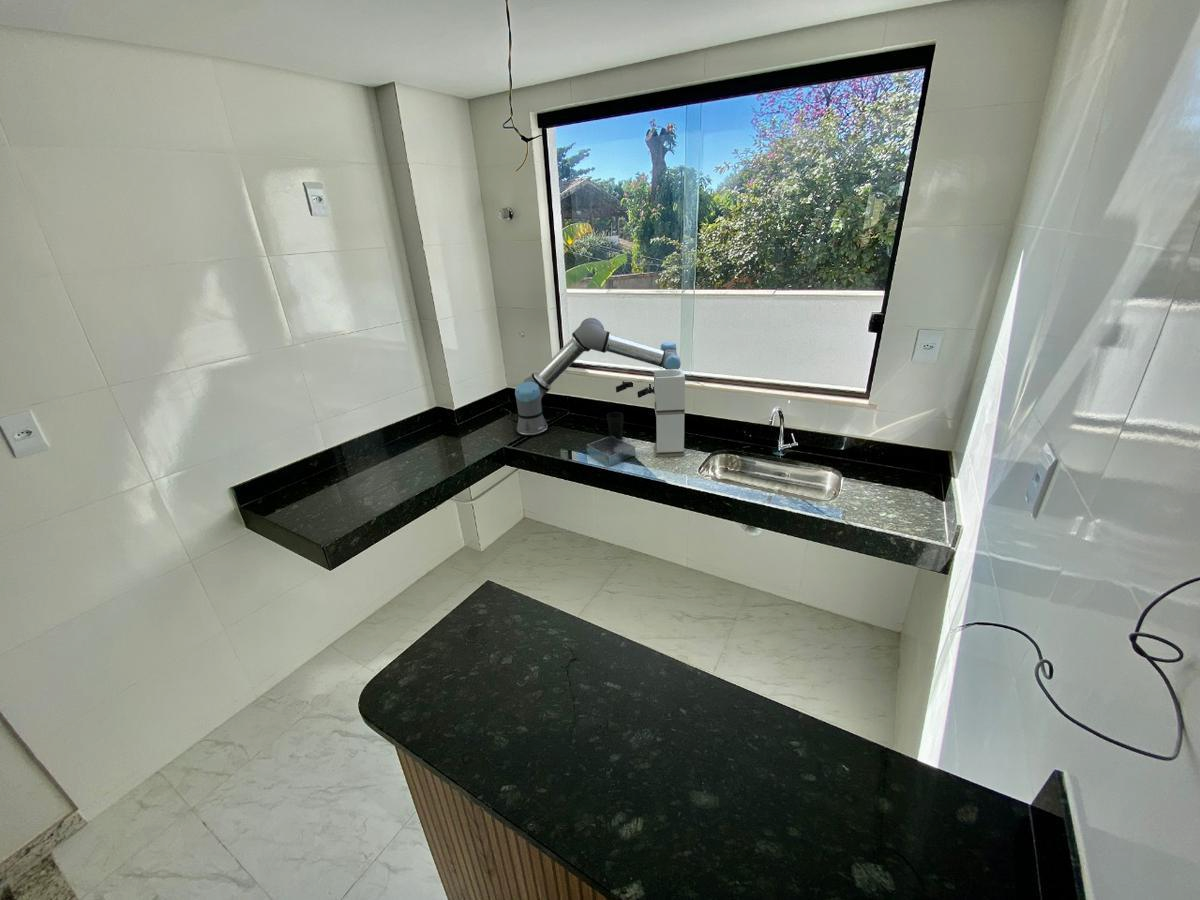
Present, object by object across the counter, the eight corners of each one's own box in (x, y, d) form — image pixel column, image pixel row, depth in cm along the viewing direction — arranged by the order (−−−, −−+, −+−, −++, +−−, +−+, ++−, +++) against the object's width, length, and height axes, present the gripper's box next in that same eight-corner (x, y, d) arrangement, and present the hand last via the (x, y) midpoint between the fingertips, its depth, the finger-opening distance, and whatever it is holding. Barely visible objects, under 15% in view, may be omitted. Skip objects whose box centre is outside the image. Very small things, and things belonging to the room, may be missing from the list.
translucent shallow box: (587, 453, 214) (586, 444, 212) (612, 444, 221) (611, 435, 219) (609, 466, 202) (608, 456, 200) (635, 455, 209) (634, 446, 207)
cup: (624, 435, 229) (623, 411, 224) (624, 442, 222) (623, 418, 217) (608, 435, 230) (607, 412, 224) (607, 442, 223) (605, 418, 218)
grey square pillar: (680, 445, 216) (681, 368, 201) (683, 455, 206) (685, 376, 191) (655, 446, 216) (654, 370, 201) (657, 456, 207) (656, 378, 192)
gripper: (677, 391, 229) (648, 405, 216) (637, 382, 245) (608, 395, 232) (677, 376, 225) (647, 389, 212) (637, 368, 242) (607, 380, 229)
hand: (627, 392), depth 222 cm, fingers open, 13 cm apart
